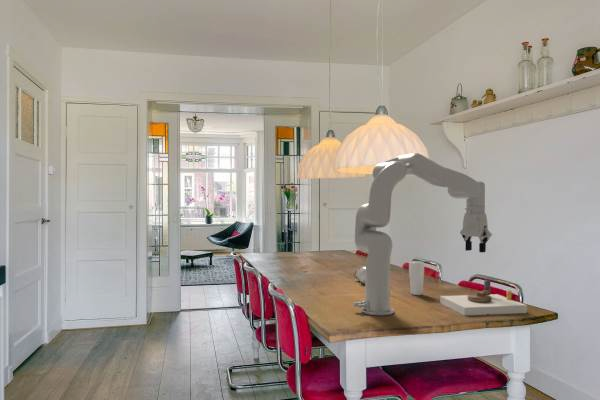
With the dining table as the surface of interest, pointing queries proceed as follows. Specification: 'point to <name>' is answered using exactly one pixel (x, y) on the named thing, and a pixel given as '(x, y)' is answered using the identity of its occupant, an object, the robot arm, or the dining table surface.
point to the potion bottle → (360, 274)
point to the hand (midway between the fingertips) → (475, 250)
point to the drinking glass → (416, 277)
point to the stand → (484, 305)
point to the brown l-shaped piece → (482, 294)
